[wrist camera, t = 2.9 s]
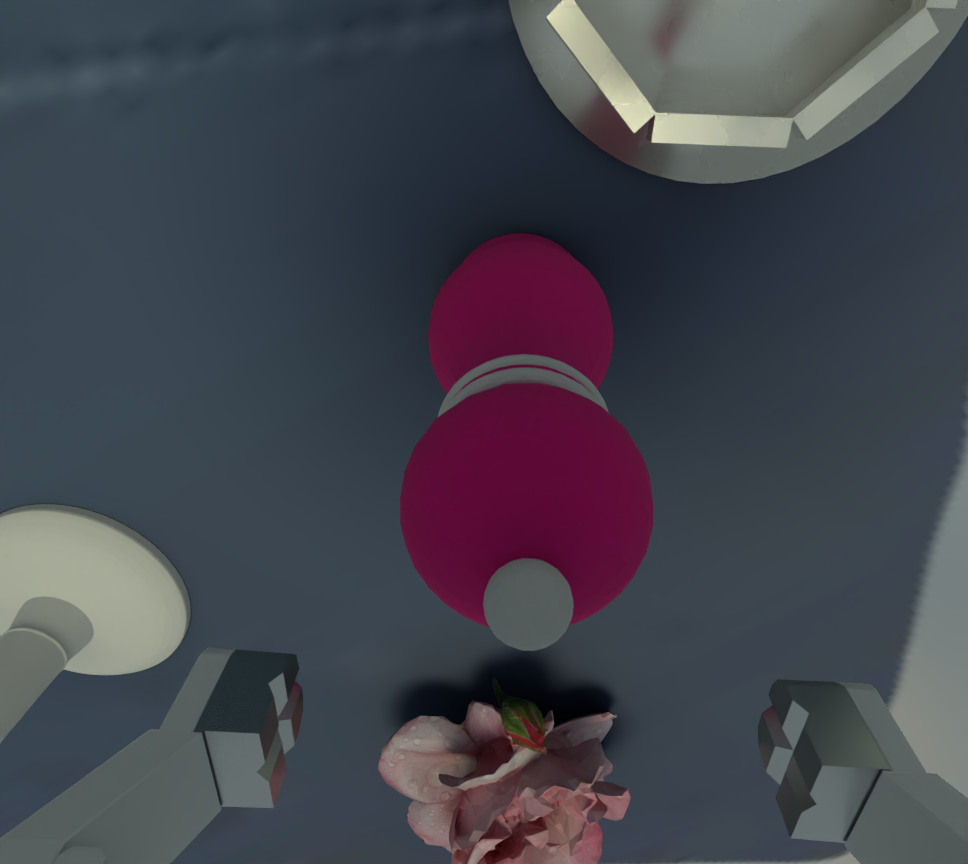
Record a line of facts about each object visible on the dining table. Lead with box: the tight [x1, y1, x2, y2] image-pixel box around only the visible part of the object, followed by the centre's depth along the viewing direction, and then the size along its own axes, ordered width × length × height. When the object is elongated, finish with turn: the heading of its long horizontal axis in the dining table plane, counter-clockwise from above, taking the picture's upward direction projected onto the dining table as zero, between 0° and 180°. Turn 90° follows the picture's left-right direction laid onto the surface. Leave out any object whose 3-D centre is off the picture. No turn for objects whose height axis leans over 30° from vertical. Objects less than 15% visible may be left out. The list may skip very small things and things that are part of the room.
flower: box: [378, 676, 630, 864], centre depth 40 cm, size 15×15×10 cm
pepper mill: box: [400, 233, 653, 651], centre depth 21 cm, size 7×7×20 cm
